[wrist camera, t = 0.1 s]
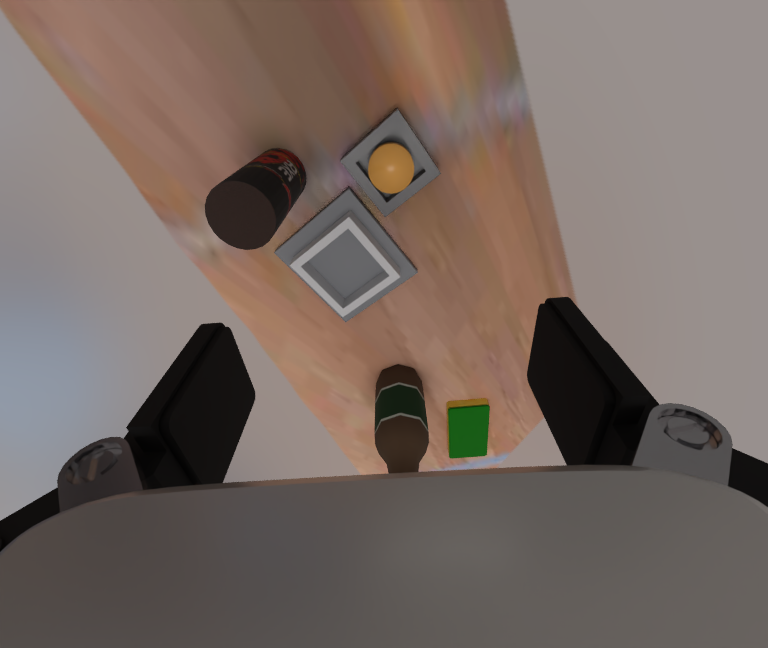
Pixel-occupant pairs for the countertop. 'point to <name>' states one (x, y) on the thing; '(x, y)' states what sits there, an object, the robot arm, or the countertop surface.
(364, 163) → the button housing
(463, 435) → the dish sponge
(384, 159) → the button
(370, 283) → the grey rectangular tray
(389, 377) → the beer bottle
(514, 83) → the countertop surface
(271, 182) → the deodorant
